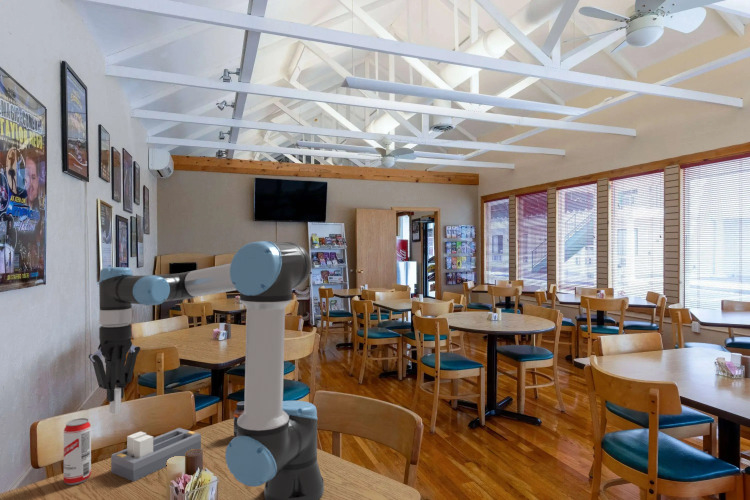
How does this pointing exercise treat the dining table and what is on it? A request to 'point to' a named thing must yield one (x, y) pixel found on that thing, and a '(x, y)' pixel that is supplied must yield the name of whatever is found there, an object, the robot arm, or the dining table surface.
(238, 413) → the supplement bottle
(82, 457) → the beer can
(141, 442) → the tab
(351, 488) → the dining table surface
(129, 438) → the tab
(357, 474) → the dining table surface
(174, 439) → the switch bank
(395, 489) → the dining table surface
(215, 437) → the dining table surface
